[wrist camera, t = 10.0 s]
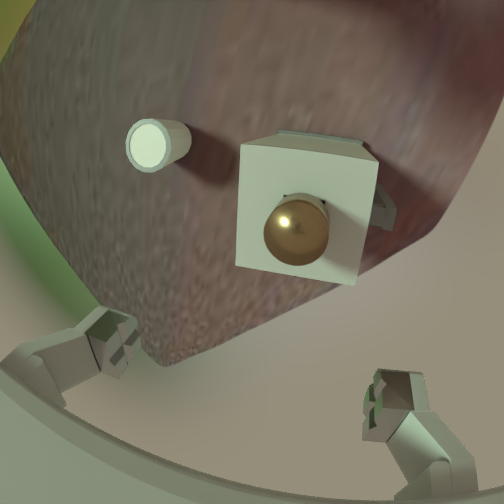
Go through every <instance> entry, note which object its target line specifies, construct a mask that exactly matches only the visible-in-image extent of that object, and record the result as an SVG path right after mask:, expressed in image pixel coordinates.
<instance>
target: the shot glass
mask: <svg viewBox="0 0 504 504" xmlns="http://www.w3.org/2000/svg"><path fill="white" fill-rule="evenodd" d="M191 144H192V142H191V134H190V131H189V129H188V128H187V127H186V126H185V125H184V124H183V123H181V122H178V121H172V120H161V119H142V120H140V121H139V122H137V123H135V124H134V125H133V126H132V128H131V129H130V131H129V132H128V135H127V139H126V153H127V155H128V158H129V160H130V162H131V163H132V164H133V165H134V166H135V168H136V169H139V170H141V171H143V172H155V171H157V170H159V169H161V168H163V167H165V166H166V165H168V164H170V163H172V162H174V161H176V160H178V159H180V158H182V157H184V156H185V155H186V154H187V152H188V151H189V149H190V147H191Z"/></svg>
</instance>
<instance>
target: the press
mask: <svg viewBox="0 0 504 504" xmlns="http://www.w3.org/2000/svg"><path fill="white" fill-rule="evenodd" d="M378 166H379V162H378V161H377V160H376V159H375V158H374V157H373V156H372V155H371V154H370V153H369V152H368V151H367V150H366V149H365V148H364V147H363V141H362V140H356V139H350V138H344V137H337V136H331V135H323V134H316V133H308V132H299V131H290V130H278V134H276V135H272V136H268V137H265V138H261V139H257V140H254V141H250V142H247V143H243V144H241V151H240V171H239V193H238V216H237V240H236V266H242V267H248V268H253V269H259V270H264V271H270V272H276V273H281V274H287V275H293V276H299V277H304V278H310V279H316V280H322V281H328V282H334V283H340V284H346V285H352V286H354V285H355V282H356V278H357V274H358V270H359V266H360V262H361V257H362V253H363V248H364V244H365V239H366V234H367V229H368V225H373V226H378V227H381V229H382V230H387V231H393V227H394V222H395V218H396V213H397V207H396V206H395V204H394V203H393V201H392V199H391V198H390V196H389V195H388V193H387V192H386V190H385V189H384V187H383V186H382V184H381V183H376V180H377V173H378ZM293 193H308V194H311V195H313V196H315V197H317V198H318V199H319V200H325V201H326V202H325V206H326V208H327V210H328V213H329V217H330V226H329V238H328V244H327V247H326V250H325V251H324V253H323V254H322V256H321V257H320V258H319V259H317V260H316V261H314V262H312V263H310V264H307V265H303V266H292V265H288V264H285V263H283V262H281V261H279V260H278V259H276V258H275V257H274V256H273V255H272V254H271V253H270V252H269V250H268V249H267V247H266V244H265V241H264V236H263V231H264V226H265V223H266V221H267V219H268V217H269V216H270V214H271V213H272V211H273V210H274V208H275V207H276V205H277V204H278V203H279V202H280V200H282V199H283V198H284V197H285V195H290V194H293Z"/></svg>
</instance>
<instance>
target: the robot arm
mask: <svg viewBox="0 0 504 504" xmlns="http://www.w3.org/2000/svg"><path fill="white" fill-rule="evenodd" d="M137 327H138V323H137V319H136V318H135V317H134V316H131V315H128V314H125V313H123V312H120V311H117V310H114V309H111V308H108V307H105V306H103V305H101V306H98V307H97V308H96V309H95V310H93V311H92V312H91V313H90V314H89V315H88V316H87V317H86V318H85V319H84V320H83V321H82V322H80V323H79V324H78V325H77V326H76V327H75V328H74V329H72V328H68V329H65V330H62V331H59V332H56V333H53V334H49V335H46V336H43V337H40V338H37V339H34V340H31V341H27V342H24V343H21V344H20V345H18V346H17V347H16V348H15V349H14V350H13V351H12V352H11V353H10V354H9V355H8V356H7V357H6V358H4V359H3V360H2V361H1V362H0V504H504V486H500V487H495V488H491V489H487V490H482V491H478V483H477V474H476V467H475V460H474V457H473V456H472V454H471V453H470V452H469V451H468V450H467V449H466V447H465V446H464V445H463V444H462V443H461V442H460V441H459V439H458V438H457V437H456V436H455V435H454V434H453V432H452V431H451V430H450V429H449V428H448V427H447V426H446V425H445V423H444V422H443V421H442V420H441V419H440V418H439V417H438V415H437V414H436V413H435V412H432V411H430V407H429V401H428V396H427V391H426V385H425V380H424V376H423V374H422V373H421V372H411V371H399V370H388V369H378V370H377V371H376V372H375V375H374V377H373V378H374V383H373V384H371V385H370V386H369V387H368V389H367V392H366V395H365V398H364V404H363V413H364V415H365V416H366V419H365V421H364V422H363V431H362V440H363V441H373V442H385V443H386V444H387V446H388V448H389V450H390V451H391V453H392V455H393V456H394V458H395V460H396V461H397V464H398V465H399V467H400V469H401V471H402V472H403V474H404V476H405V478H406V480H407V481H408V483H409V484H408V485H407V486H405V487H404V488H403V489H402V490H401V491H399V492H398V493H397V494H396V495H395V496H394V500H392V501H391V500H389V501H369V500H346V499H333V498H321V497H314V496H306V495H298V494H292V493H286V492H280V491H274V490H270V489H264V488H260V487H255V486H251V485H247V484H242V483H238V482H234V481H231V480H227V479H223V478H219V477H216V476H213V475H210V474H206V473H203V472H200V471H197V470H194V469H191V468H188V467H185V466H182V465H179V464H177V463H174V462H172V461H169V460H166V459H164V458H161V457H159V456H156V455H154V454H151V453H149V452H146V451H144V450H142V449H140V448H137V447H135V446H133V445H131V444H129V443H127V442H124V441H122V440H120V439H118V438H116V437H114V436H112V435H110V434H108V433H106V432H104V431H102V430H101V429H98V428H97V427H95V426H93V425H91V424H89V423H87V422H86V421H84V420H82V419H81V418H79V417H77V416H75V415H74V414H72V413H70V412H69V411H67V410H66V409H64V407H65V406H66V401H65V400H64V398H63V396H62V395H61V393H62V392H64V391H66V390H68V389H70V388H72V387H74V386H76V385H78V384H80V383H81V382H83V381H85V380H87V379H89V378H91V377H93V376H95V375H97V374H99V373H100V372H102V373H105V374H107V375H110V376H112V377H114V378H117V379H119V378H120V377H121V376H122V375H123V373H124V372H125V371H126V369H127V368H128V362H129V361H131V360H133V359H135V358H136V356H137V355H138V354H139V351H140V348H141V336H140V334H139V333H138V332H137V330H136V328H137Z"/></svg>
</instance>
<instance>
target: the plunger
mask: <svg viewBox="0 0 504 504" xmlns="http://www.w3.org/2000/svg"><path fill="white" fill-rule="evenodd" d="M325 202H326V201H325V200H319V199H318V198H317V197H315V196H313V195H311V194H308V193H293V194H290V195H285V197H284V198H283V199H282V200H280V202H279V203H278V204H277V205H276V207H275V208H274V210H273V211H272V213H271V214H270V216H269V217H268V219H267V221H266V223H265V226H264V231H263V236H264V241H265V244H266V247H267V249H268V250H269V252H270V253H271V254H272V255H273V256H274V257H275V258H276V259H278V260H279V261H281V262H283V263H285V264H288V265H292V266H303V265H307V264H310V263H312V262H314V261H316V260H317V259H319V258H320V257H321V256H322V254H323V253H324V251H325V250H326V247H327V244H328V238H329V226H330V217H329V213H328V210H327V208H326V206H325Z"/></svg>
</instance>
